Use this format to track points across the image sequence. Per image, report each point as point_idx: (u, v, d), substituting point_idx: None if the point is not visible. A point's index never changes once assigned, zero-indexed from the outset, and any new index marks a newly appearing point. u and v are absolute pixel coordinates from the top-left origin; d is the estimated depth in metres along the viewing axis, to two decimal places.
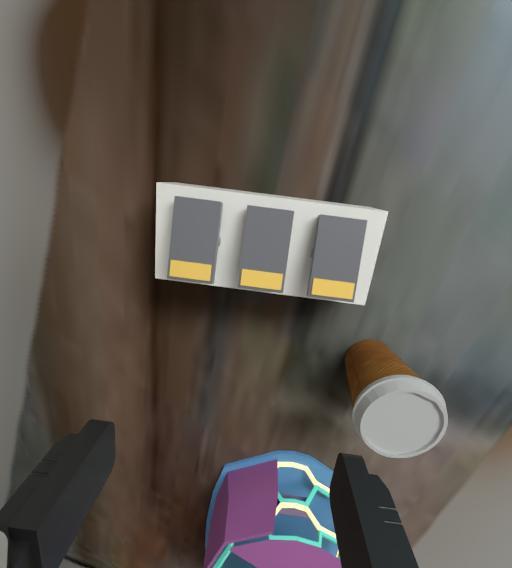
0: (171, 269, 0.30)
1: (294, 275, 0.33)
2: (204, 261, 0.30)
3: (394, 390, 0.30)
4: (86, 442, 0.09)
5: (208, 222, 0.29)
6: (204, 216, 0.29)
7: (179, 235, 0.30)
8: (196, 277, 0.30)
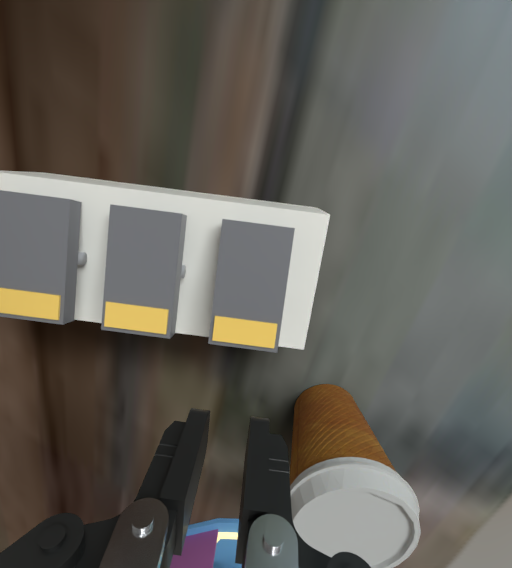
0: None
1: (199, 307, 0.22)
2: (49, 289, 0.20)
3: (337, 488, 0.19)
4: (196, 428, 0.10)
5: (52, 230, 0.19)
6: (45, 221, 0.19)
7: (9, 250, 0.19)
8: (37, 314, 0.20)
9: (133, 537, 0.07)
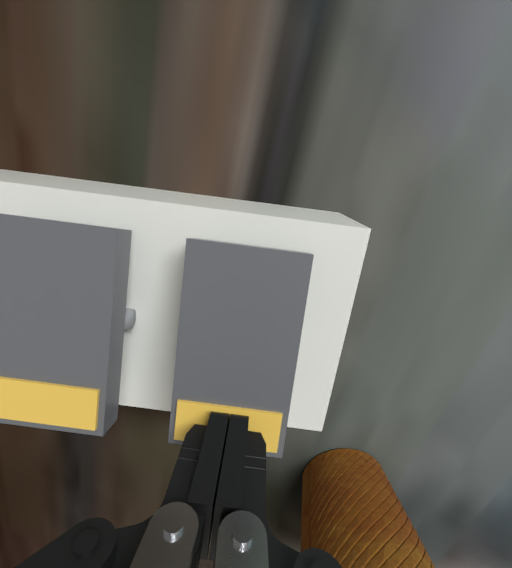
0: None
1: (160, 370, 0.14)
2: None
3: None
4: (218, 431, 0.10)
5: None
6: None
7: None
8: None
9: (165, 542, 0.07)
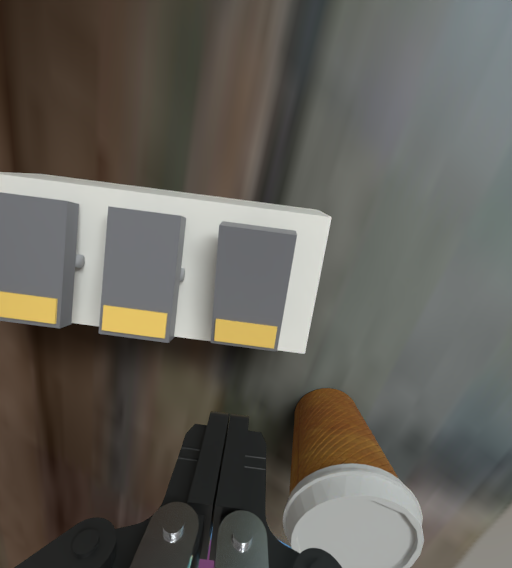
0: None
1: (198, 310, 0.22)
2: (46, 292, 0.19)
3: (339, 496, 0.19)
4: (217, 431, 0.10)
5: (49, 232, 0.19)
6: (42, 224, 0.19)
7: (5, 252, 0.19)
8: (34, 318, 0.19)
9: (165, 542, 0.07)
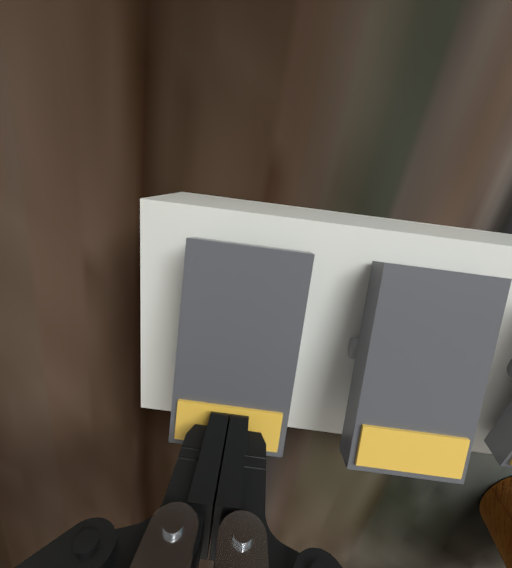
0: (179, 423, 0.12)
1: None
2: (264, 403, 0.12)
3: None
4: (218, 431, 0.10)
5: (277, 307, 0.11)
6: (267, 293, 0.11)
7: (199, 340, 0.11)
8: None
9: (165, 542, 0.07)
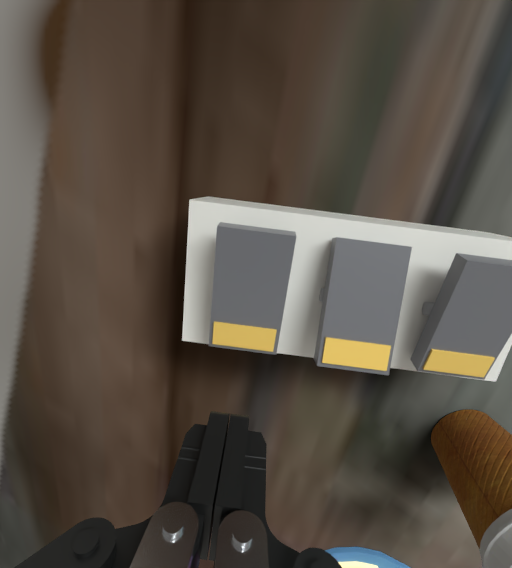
0: (215, 335, 0.20)
1: None
2: (265, 324, 0.19)
3: None
4: (217, 431, 0.10)
5: (273, 268, 0.18)
6: (267, 259, 0.18)
7: (226, 287, 0.19)
8: (253, 346, 0.20)
9: (165, 542, 0.07)
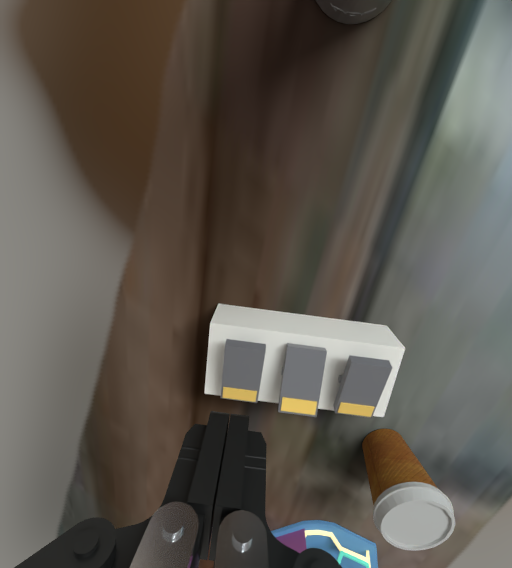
0: (224, 393, 0.37)
1: (323, 393, 0.38)
2: (251, 388, 0.36)
3: (410, 500, 0.35)
4: (217, 431, 0.10)
5: (254, 364, 0.35)
6: (250, 360, 0.34)
7: (229, 371, 0.35)
8: (244, 399, 0.37)
9: (165, 542, 0.07)
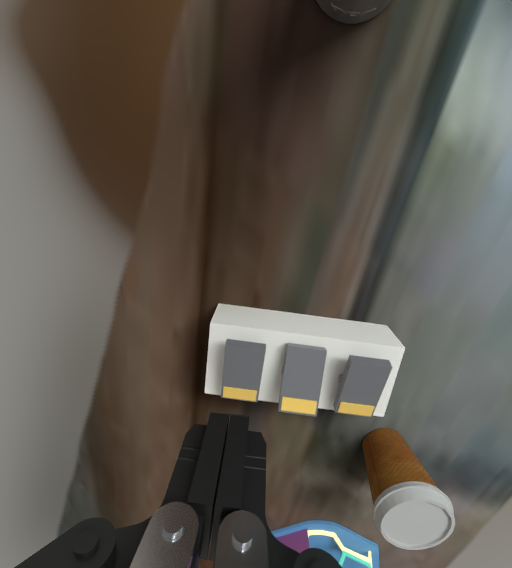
0: (224, 393, 0.37)
1: (324, 393, 0.38)
2: (251, 388, 0.36)
3: (410, 499, 0.35)
4: (218, 431, 0.10)
5: (254, 363, 0.35)
6: (251, 360, 0.34)
7: (230, 371, 0.35)
8: (244, 398, 0.37)
9: (165, 542, 0.07)
